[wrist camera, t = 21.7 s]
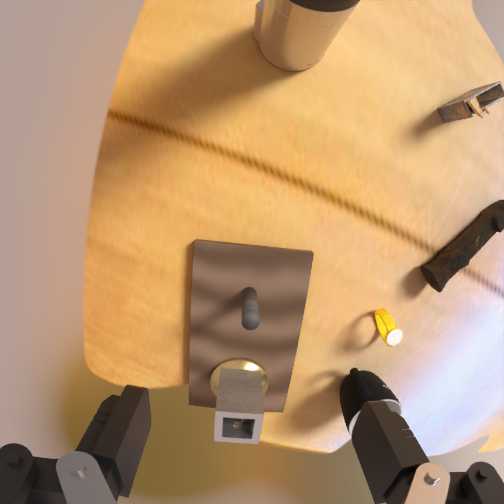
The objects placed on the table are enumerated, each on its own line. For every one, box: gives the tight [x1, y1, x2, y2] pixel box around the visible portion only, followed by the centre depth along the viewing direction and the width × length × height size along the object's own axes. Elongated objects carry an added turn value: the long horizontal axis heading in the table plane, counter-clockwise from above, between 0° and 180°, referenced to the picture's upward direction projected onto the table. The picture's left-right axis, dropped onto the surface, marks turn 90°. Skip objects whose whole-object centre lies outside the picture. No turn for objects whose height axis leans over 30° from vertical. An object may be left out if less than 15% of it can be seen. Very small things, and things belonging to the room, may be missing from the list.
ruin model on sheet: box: [437, 81, 504, 123], centre depth 33 cm, size 11×3×10 cm, turn 122°
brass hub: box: [210, 358, 268, 396], centre depth 42 cm, size 9×9×7 cm
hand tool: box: [420, 200, 504, 292], centre depth 40 cm, size 23×5×6 cm, turn 125°
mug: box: [340, 368, 402, 436], centre depth 43 cm, size 12×9×10 cm
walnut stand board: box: [189, 239, 314, 412], centre depth 40 cm, size 28×16×10 cm, turn 174°
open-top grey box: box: [214, 367, 264, 444], centre depth 40 cm, size 6×6×10 cm
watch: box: [374, 308, 403, 347], centre depth 43 cm, size 6×3×6 cm, turn 24°
